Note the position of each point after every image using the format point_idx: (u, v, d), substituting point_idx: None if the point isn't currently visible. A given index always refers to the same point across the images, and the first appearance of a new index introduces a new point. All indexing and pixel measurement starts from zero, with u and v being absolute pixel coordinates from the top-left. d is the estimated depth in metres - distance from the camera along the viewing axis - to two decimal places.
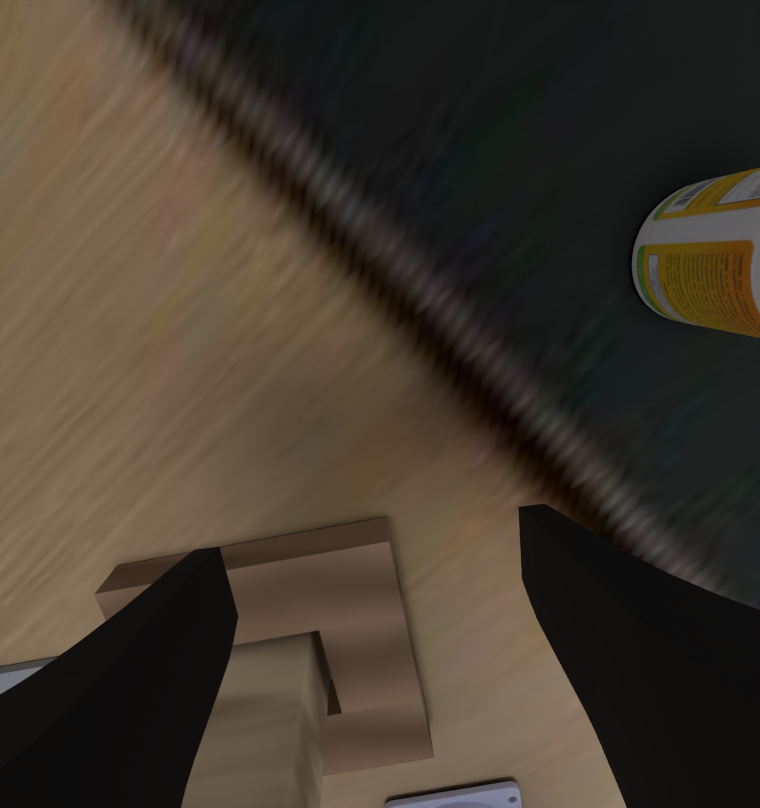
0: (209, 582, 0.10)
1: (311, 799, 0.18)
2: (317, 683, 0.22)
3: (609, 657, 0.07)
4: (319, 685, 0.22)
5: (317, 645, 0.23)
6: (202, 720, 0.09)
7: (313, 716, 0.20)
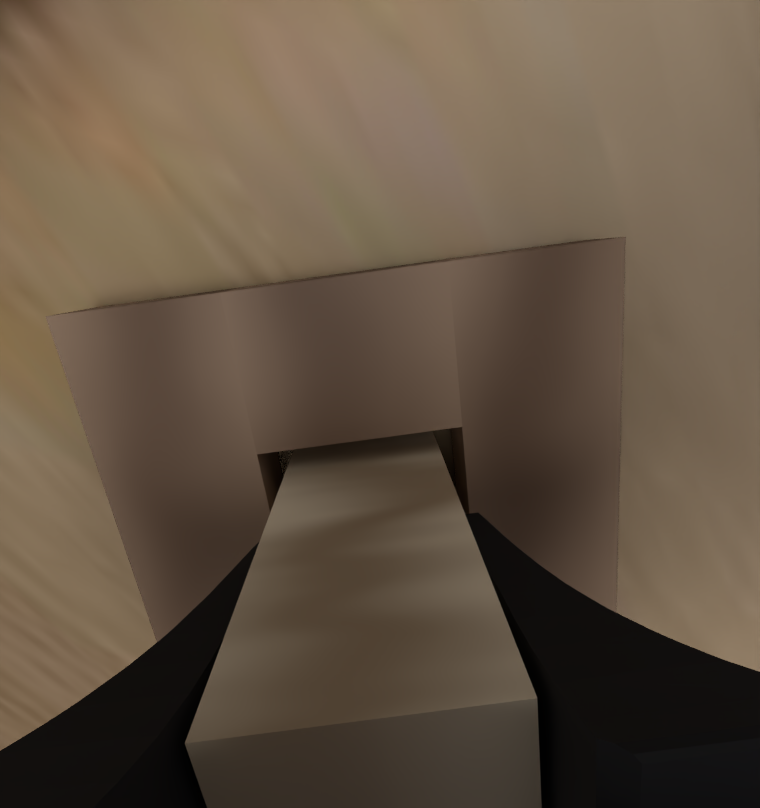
0: None
1: (414, 586, 0.07)
2: (360, 471, 0.11)
3: None
4: (374, 466, 0.12)
5: (336, 449, 0.13)
6: None
7: (358, 506, 0.10)
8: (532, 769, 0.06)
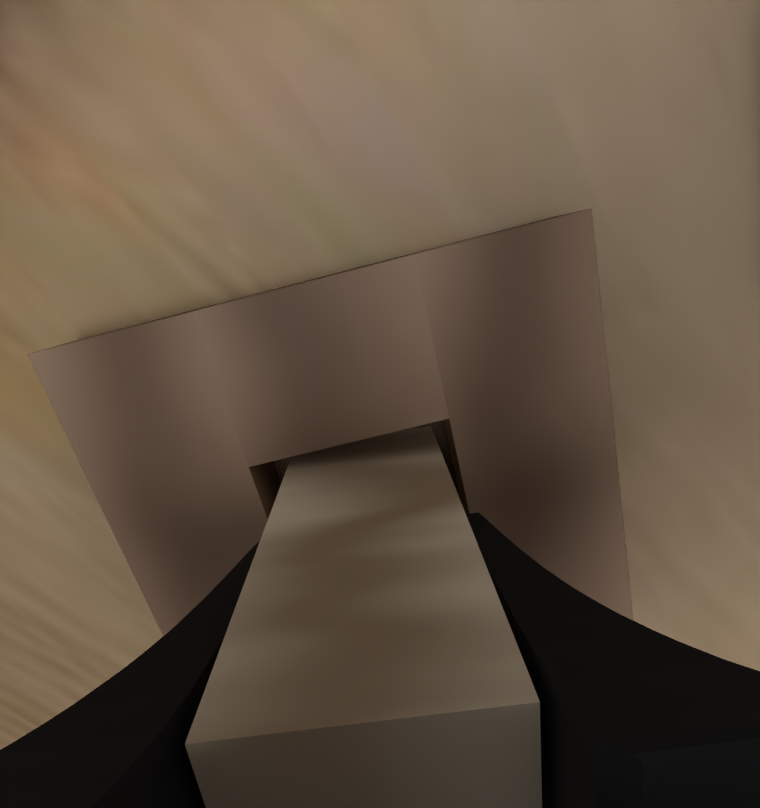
0: None
1: (415, 588, 0.07)
2: (361, 471, 0.11)
3: None
4: (375, 466, 0.12)
5: (336, 449, 0.13)
6: None
7: (359, 506, 0.10)
8: (532, 773, 0.06)
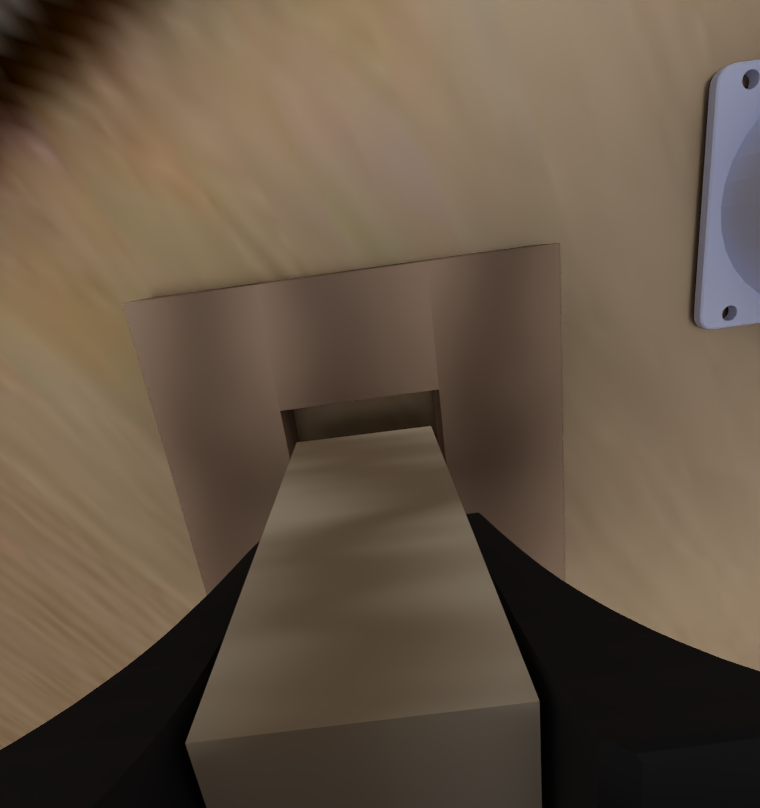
0: None
1: (415, 587, 0.07)
2: (360, 471, 0.11)
3: None
4: (375, 466, 0.12)
5: (336, 449, 0.13)
6: None
7: (359, 506, 0.10)
8: (532, 772, 0.06)
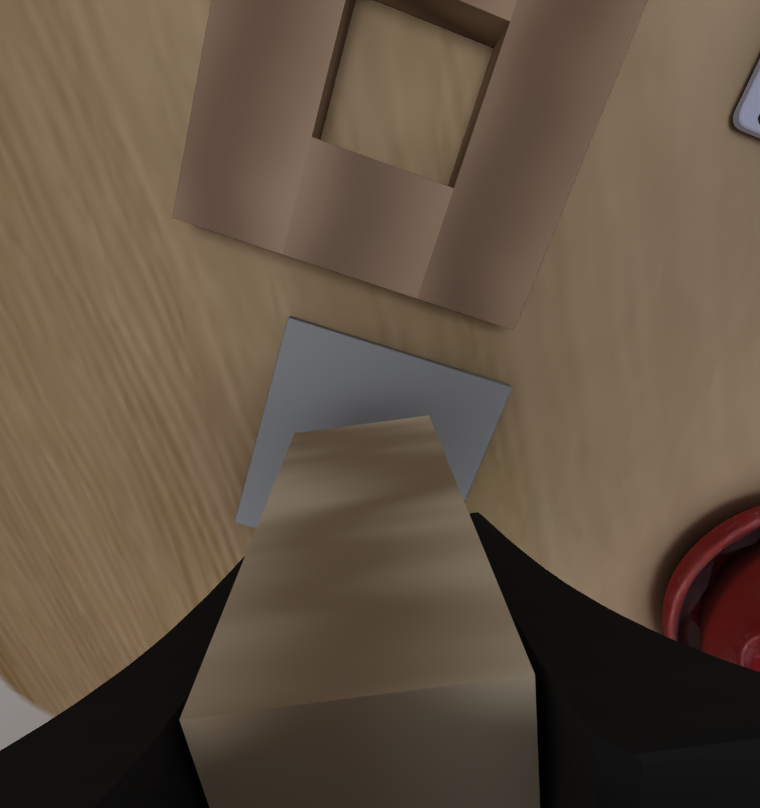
0: None
1: (411, 568, 0.07)
2: (358, 459, 0.11)
3: None
4: (372, 454, 0.12)
5: (334, 439, 0.13)
6: None
7: (356, 492, 0.10)
8: (529, 747, 0.06)
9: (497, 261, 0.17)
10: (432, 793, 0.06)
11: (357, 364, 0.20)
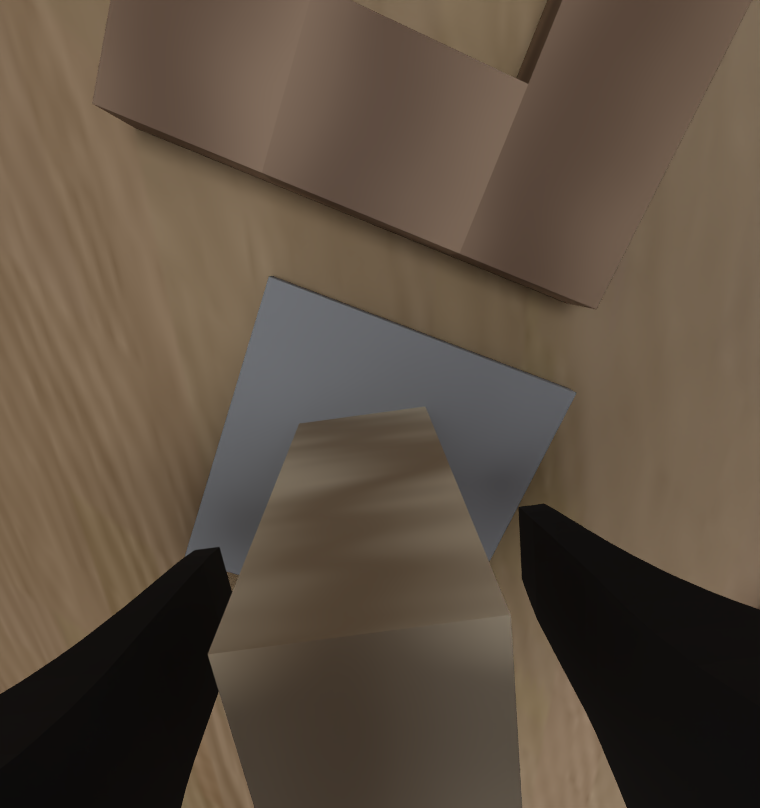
0: (209, 582, 0.10)
1: (407, 535, 0.08)
2: (359, 445, 0.12)
3: (609, 657, 0.07)
4: (372, 441, 0.12)
5: (337, 428, 0.14)
6: (202, 720, 0.09)
7: (357, 474, 0.11)
8: (507, 680, 0.06)
9: (582, 203, 0.12)
10: (424, 722, 0.07)
11: (364, 349, 0.14)
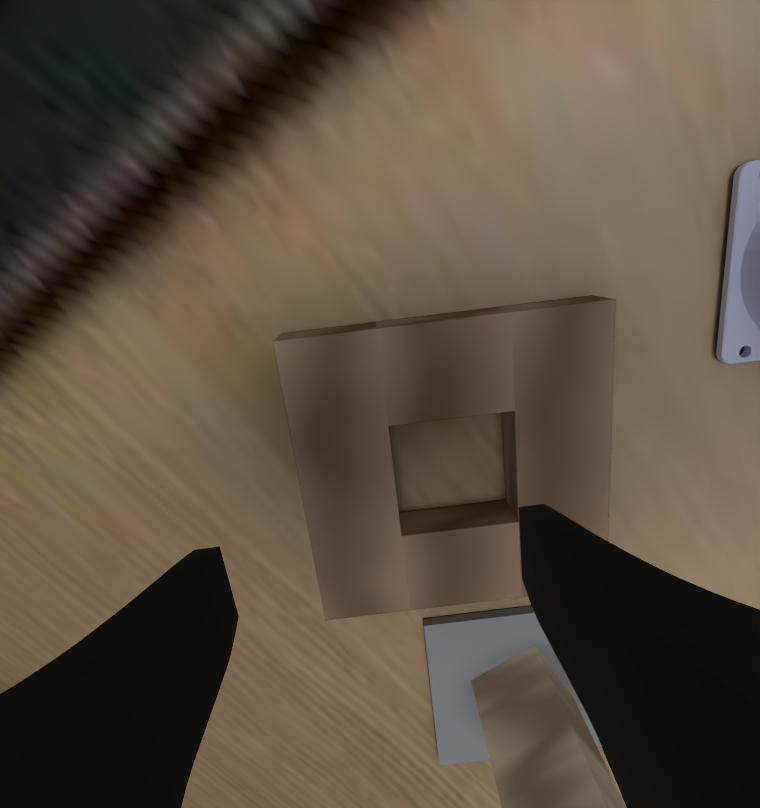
0: (209, 582, 0.10)
1: (570, 799, 0.18)
2: (516, 706, 0.22)
3: (609, 657, 0.07)
4: (521, 699, 0.23)
5: (495, 685, 0.24)
6: (202, 720, 0.09)
7: (527, 741, 0.21)
8: None
9: None
10: None
11: (488, 634, 0.24)
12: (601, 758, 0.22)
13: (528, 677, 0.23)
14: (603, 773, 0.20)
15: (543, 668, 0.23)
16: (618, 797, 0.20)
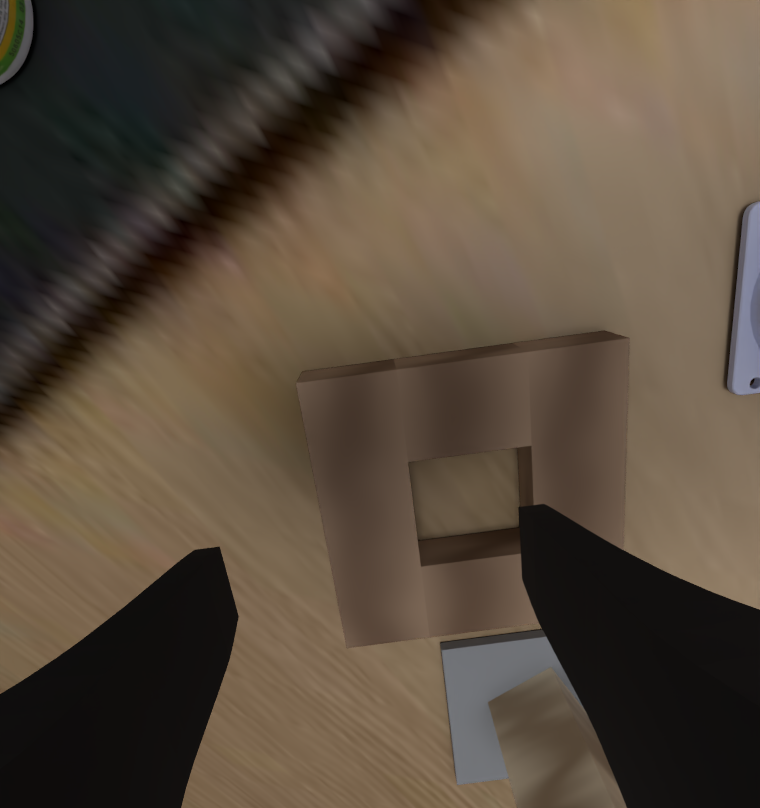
0: (209, 582, 0.10)
1: None
2: (534, 730, 0.23)
3: (609, 657, 0.07)
4: (539, 723, 0.23)
5: (512, 707, 0.25)
6: (202, 720, 0.09)
7: (546, 765, 0.21)
8: None
9: None
10: None
11: (505, 657, 0.25)
12: None
13: (545, 700, 0.24)
14: (621, 796, 0.21)
15: (560, 691, 0.24)
16: None
